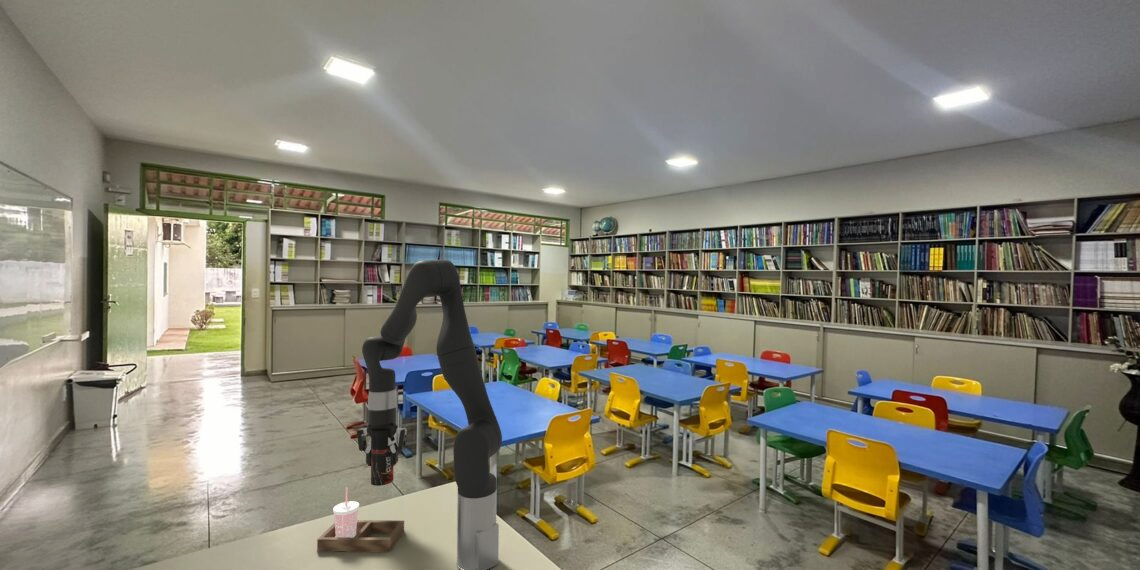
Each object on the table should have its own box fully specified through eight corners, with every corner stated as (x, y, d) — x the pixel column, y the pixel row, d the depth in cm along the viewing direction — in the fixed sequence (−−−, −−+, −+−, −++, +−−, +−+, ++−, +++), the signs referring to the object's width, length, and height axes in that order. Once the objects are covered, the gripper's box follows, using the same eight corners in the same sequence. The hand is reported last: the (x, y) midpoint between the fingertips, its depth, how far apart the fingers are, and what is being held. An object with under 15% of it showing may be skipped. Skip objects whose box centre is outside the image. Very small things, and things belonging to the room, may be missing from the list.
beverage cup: (362, 534, 121) (362, 481, 121) (353, 547, 115) (354, 491, 115) (338, 535, 120) (338, 482, 120) (328, 548, 114) (329, 492, 114)
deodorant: (385, 486, 125) (385, 432, 125) (366, 484, 126) (366, 430, 126) (397, 478, 130) (397, 425, 131) (379, 476, 132) (379, 424, 132)
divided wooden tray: (404, 531, 122) (404, 520, 122) (389, 552, 112) (389, 539, 112) (337, 531, 122) (337, 520, 122) (317, 551, 112) (317, 539, 113)
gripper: (350, 409, 125) (350, 470, 125) (402, 409, 125) (402, 470, 124) (363, 403, 133) (363, 460, 132) (412, 402, 132) (412, 460, 132)
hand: (382, 465), depth 128 cm, fingers closed on deodorant, 6 cm apart
